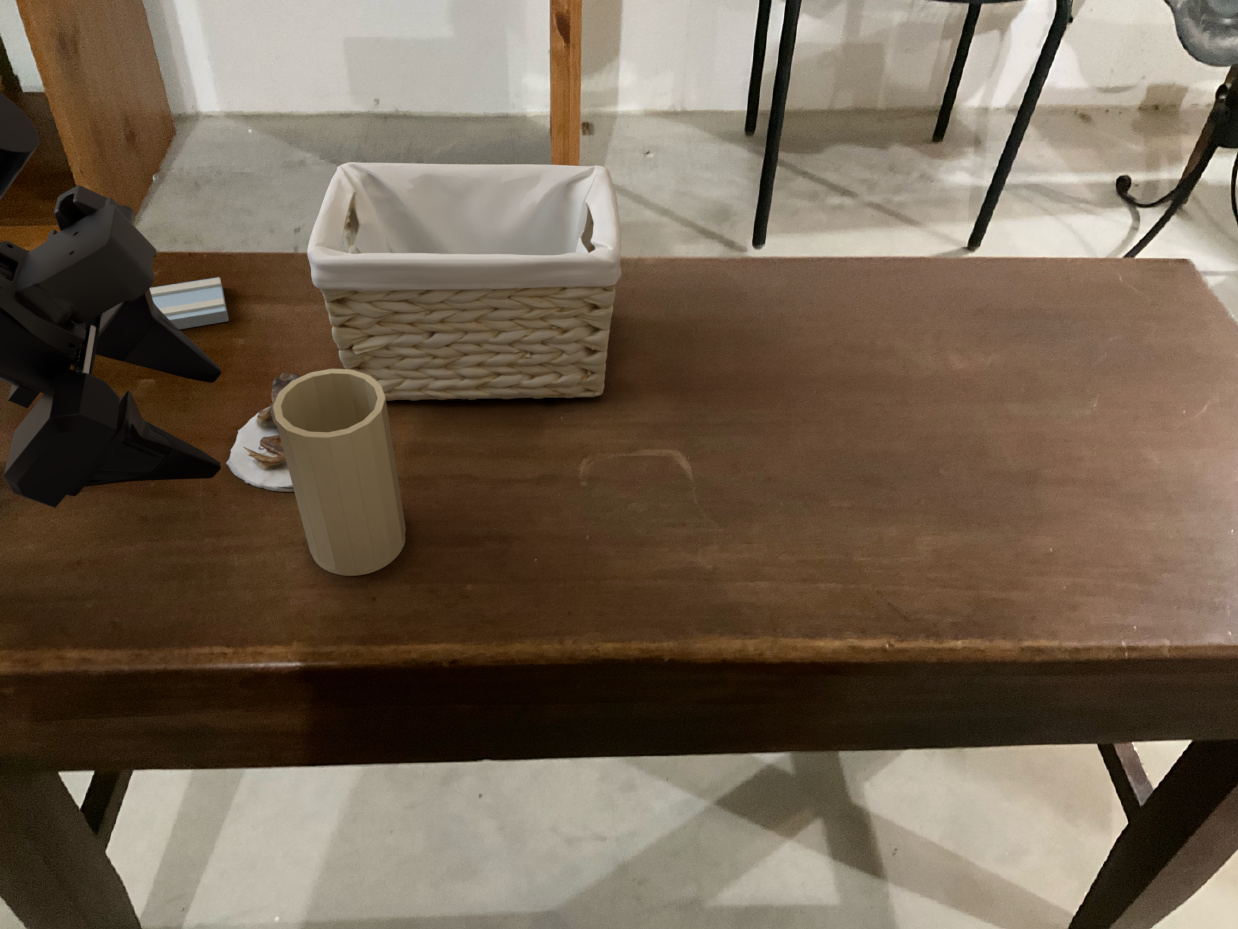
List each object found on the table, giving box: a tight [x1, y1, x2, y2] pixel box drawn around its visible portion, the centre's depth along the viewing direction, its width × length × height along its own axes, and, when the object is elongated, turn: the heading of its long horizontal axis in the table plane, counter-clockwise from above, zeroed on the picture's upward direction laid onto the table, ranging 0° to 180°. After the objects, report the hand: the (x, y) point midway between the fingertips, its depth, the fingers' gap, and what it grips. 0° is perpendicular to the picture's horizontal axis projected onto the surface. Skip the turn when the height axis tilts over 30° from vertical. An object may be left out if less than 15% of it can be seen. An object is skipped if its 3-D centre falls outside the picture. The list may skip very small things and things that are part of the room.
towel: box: [150, 276, 230, 330], centre depth 88 cm, size 10×6×2 cm, turn 112°
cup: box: [273, 368, 407, 577], centre depth 65 cm, size 7×7×13 cm
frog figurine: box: [225, 372, 301, 493], centre depth 75 cm, size 12×12×4 cm
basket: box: [306, 161, 622, 402], centre depth 81 cm, size 24×16×15 cm
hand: (217, 421), depth 59 cm, fingers open, 9 cm apart
